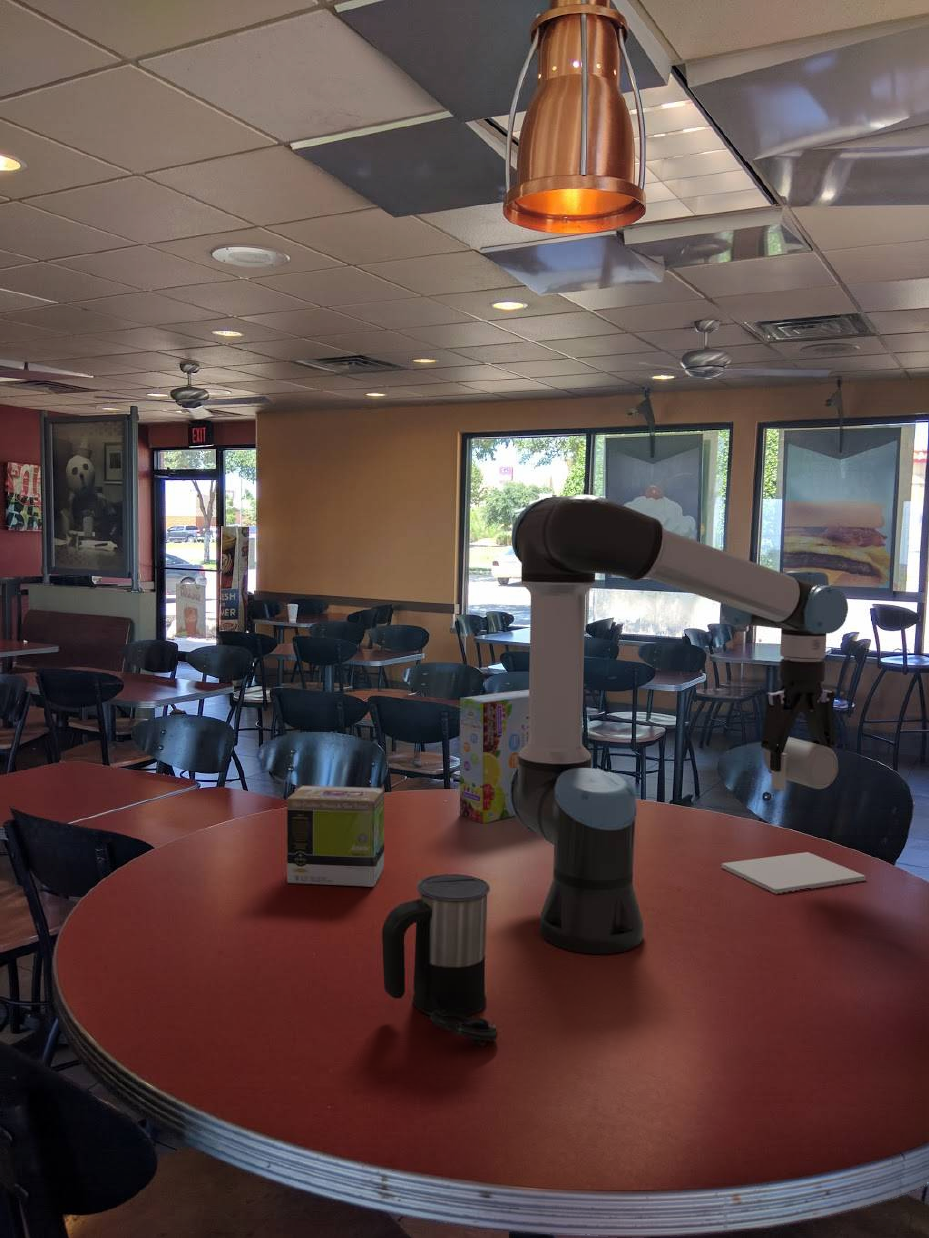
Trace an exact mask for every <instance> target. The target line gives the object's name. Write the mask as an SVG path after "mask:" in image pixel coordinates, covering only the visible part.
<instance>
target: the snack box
mask: <svg viewBox="0 0 929 1238" xmlns="http://www.w3.org/2000/svg"><path fill="white" fill-rule="evenodd" d="M528 730H529V689H523V690H514V691H505V692H498V693H497V692H496V693H488V694H481V695H473V696H467V697H460V699H459V816H461V817H465V818H467V819H471V820H473V821H475V822H479V823H481V824H487V823H490V822H494V821H499V820H503V819H507V818H510V817H511V818H512V817H516V816H515V814H514V813H513V811H512V809H511V807H510V804H509V801H508V783H509V780H510V777H511V775H512V773H513V772H514V771H515V770H516V768H517V766H518V755H519V751H520V750H521V749H522V748H523V747H524V746H525V745H526V744H527V743H528Z"/></svg>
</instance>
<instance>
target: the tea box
mask: <svg viewBox="0 0 929 1238" xmlns="http://www.w3.org/2000/svg"><path fill="white" fill-rule="evenodd" d="M384 866H385V788H383V787H362V786H361V787H360V786H359V787H358V786H332V785H330V786H329V785H324V786H323V785H301V786H300V787H299V788H298V789H296V791H294V792H293V793H292V794H291V795H290V796H289V797H287V798H286V878H287V880H286V882H287V883H289V884H290V883H291V884H306V885H308V884H309V885H310V884H311V885H324V886H325V885H329V886H331V885H332V886H350V887H351V886H352V887H371V888H373V887H375V885H376V884H377V882H378V880H379V878H380V876H381V874H383V871H384Z"/></svg>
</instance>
